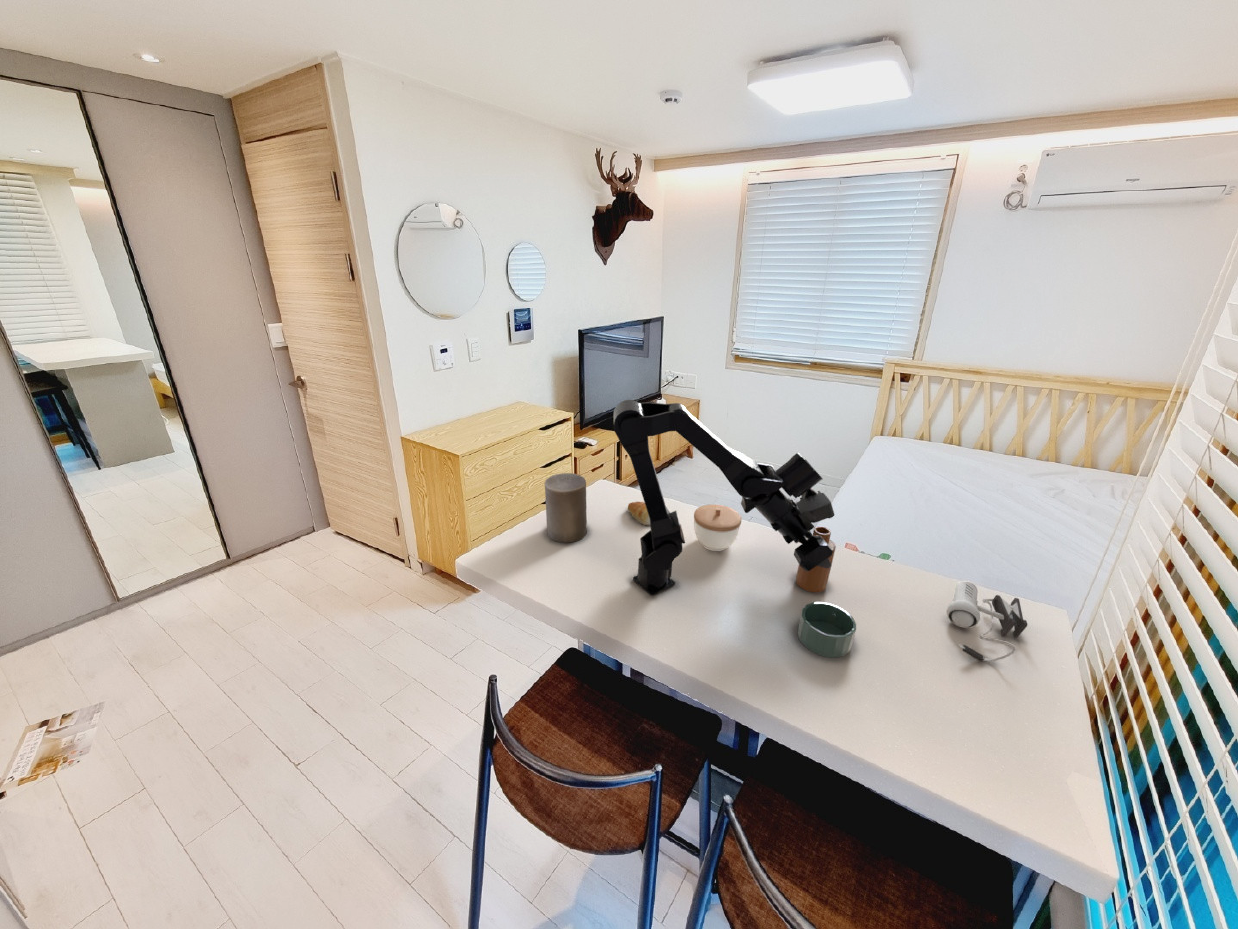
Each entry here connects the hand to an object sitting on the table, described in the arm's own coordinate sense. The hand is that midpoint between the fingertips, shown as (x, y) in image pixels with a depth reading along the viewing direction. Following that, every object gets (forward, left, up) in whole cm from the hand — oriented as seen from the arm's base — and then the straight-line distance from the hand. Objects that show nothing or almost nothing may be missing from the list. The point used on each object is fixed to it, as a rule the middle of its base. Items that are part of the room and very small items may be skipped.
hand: (823, 557), depth 102 cm
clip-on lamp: (+12, -26, -7) cm, 30 cm away
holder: (-13, -10, -7) cm, 18 cm away
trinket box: (-7, +23, -7) cm, 25 cm away
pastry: (-13, +42, -7) cm, 44 cm away
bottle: (-1, +1, -7) cm, 7 cm away
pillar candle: (-33, +47, -7) cm, 58 cm away
